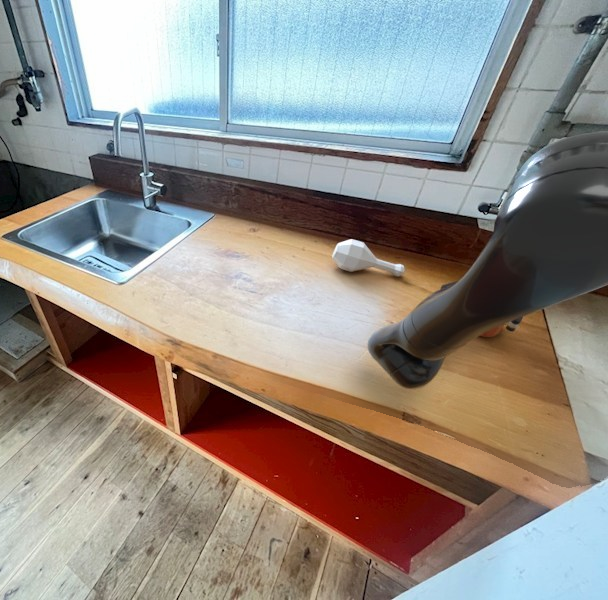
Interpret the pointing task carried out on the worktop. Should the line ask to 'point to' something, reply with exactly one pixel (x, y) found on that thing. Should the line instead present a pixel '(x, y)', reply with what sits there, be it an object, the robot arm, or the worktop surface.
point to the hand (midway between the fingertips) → (499, 290)
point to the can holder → (492, 331)
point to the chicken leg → (361, 258)
